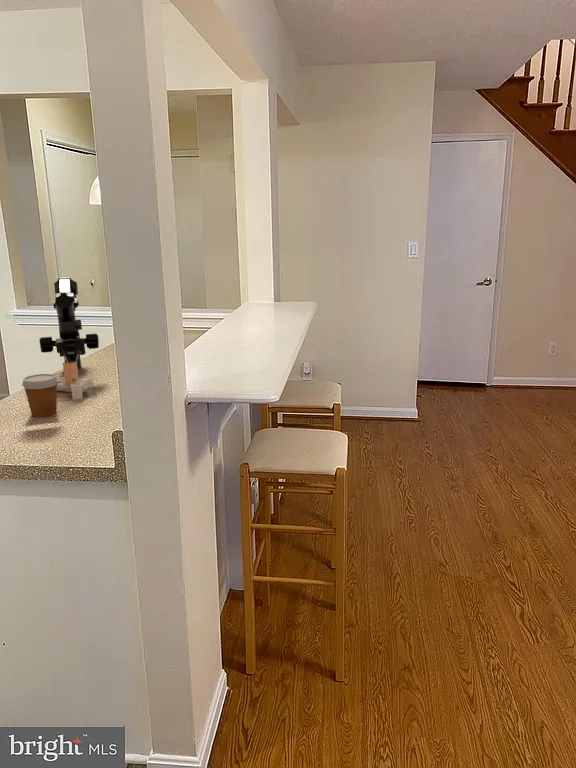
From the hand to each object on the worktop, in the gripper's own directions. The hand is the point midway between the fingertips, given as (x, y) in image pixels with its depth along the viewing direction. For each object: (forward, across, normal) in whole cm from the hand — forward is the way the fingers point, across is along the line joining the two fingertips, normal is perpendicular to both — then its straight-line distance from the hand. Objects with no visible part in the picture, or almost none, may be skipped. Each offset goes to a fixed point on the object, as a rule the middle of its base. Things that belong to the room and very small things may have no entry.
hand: (72, 363), depth 194 cm
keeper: (+15, +1, -5) cm, 16 cm away
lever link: (+10, -3, -1) cm, 11 cm away
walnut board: (+11, -1, +1) cm, 11 cm away
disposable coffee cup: (+27, -9, -15) cm, 32 cm away
